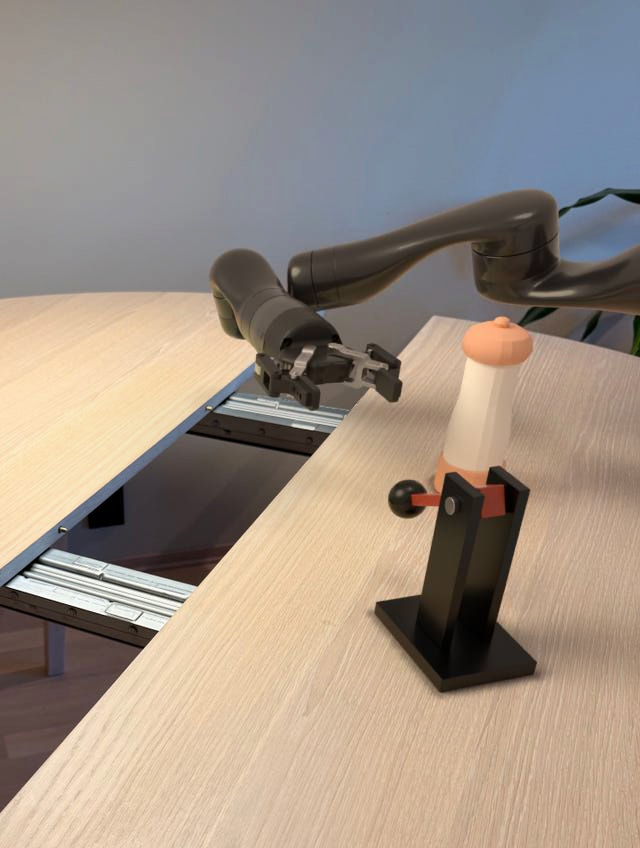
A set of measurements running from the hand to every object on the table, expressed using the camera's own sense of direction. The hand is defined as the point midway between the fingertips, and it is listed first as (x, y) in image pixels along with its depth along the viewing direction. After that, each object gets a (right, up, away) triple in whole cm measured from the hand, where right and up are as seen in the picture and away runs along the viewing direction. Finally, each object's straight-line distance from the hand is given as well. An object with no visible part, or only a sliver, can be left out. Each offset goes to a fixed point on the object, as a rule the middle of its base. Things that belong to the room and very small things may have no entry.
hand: (356, 397), depth 95 cm
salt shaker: (+15, -7, +15) cm, 23 cm away
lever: (+5, -13, -11) cm, 18 cm away
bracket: (+7, -24, -9) cm, 26 cm away
